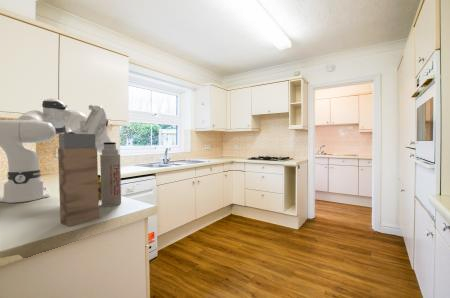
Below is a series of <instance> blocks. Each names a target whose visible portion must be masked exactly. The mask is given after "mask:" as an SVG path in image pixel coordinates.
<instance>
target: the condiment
mask: <svg viewBox="0 0 450 298" xmlns="http://www.w3.org/2000/svg"><path fill="white" fill-rule="evenodd" d="M98 198H99V200H100V201H101V174H98Z"/></svg>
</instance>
